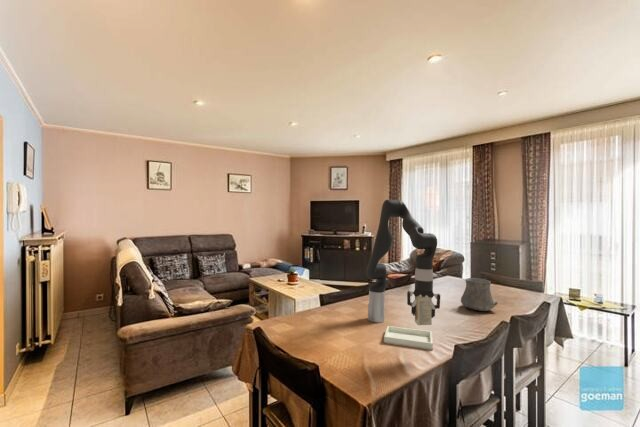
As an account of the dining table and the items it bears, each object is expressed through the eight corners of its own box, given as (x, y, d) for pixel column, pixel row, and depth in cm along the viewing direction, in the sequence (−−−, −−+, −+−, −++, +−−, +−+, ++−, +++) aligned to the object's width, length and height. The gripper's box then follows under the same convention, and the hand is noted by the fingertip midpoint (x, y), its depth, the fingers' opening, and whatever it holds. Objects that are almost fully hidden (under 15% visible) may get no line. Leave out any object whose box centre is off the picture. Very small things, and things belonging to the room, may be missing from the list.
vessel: (495, 317, 190) (495, 284, 190) (457, 309, 204) (457, 280, 204) (499, 309, 207) (500, 279, 208) (464, 303, 221) (465, 275, 221)
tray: (383, 342, 147) (384, 336, 147) (387, 331, 162) (387, 325, 162) (432, 350, 140) (432, 343, 140) (431, 337, 155) (431, 331, 155)
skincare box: (428, 322, 136) (428, 294, 136) (431, 325, 132) (432, 297, 132) (413, 321, 136) (414, 294, 136) (417, 325, 131) (417, 297, 131)
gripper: (406, 278, 132) (405, 316, 132) (441, 281, 128) (441, 321, 128) (407, 275, 140) (406, 311, 140) (440, 278, 135) (440, 315, 135)
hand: (423, 316), depth 134 cm, fingers closed on skincare box, 7 cm apart
